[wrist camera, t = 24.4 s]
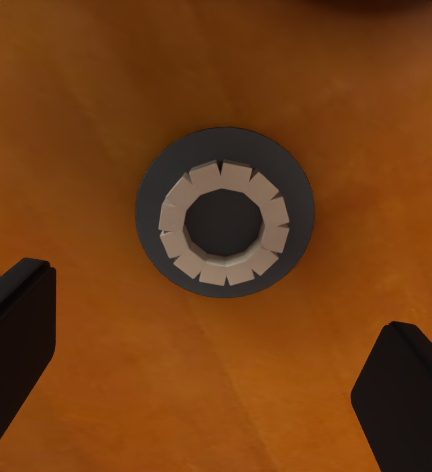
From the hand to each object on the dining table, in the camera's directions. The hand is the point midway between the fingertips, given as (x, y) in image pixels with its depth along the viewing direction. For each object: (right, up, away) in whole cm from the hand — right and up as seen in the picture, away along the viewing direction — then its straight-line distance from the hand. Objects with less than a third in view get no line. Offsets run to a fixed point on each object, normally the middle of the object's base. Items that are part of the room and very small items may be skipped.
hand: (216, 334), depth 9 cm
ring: (0, +4, +11) cm, 11 cm away
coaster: (0, +4, +11) cm, 12 cm away
